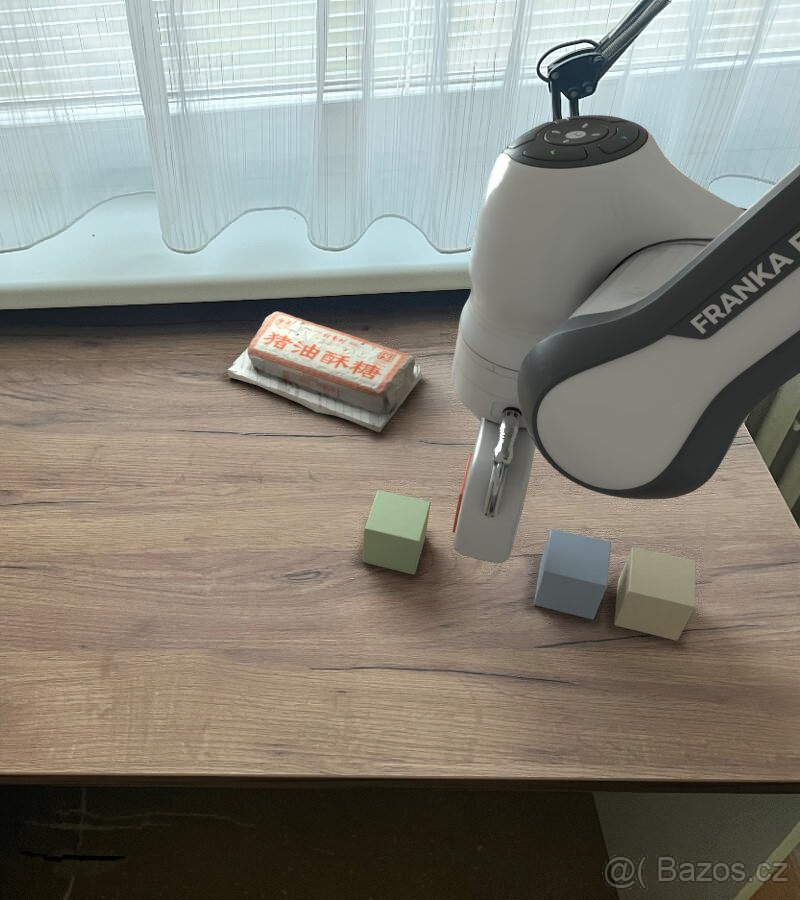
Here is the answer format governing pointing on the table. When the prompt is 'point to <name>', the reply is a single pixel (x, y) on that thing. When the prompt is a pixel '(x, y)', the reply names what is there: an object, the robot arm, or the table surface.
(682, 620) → the cream block
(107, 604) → the table surface
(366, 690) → the table surface
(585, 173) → the robot arm
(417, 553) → the sage block
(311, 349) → the packaged product
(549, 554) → the blue-grey block
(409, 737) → the table surface
